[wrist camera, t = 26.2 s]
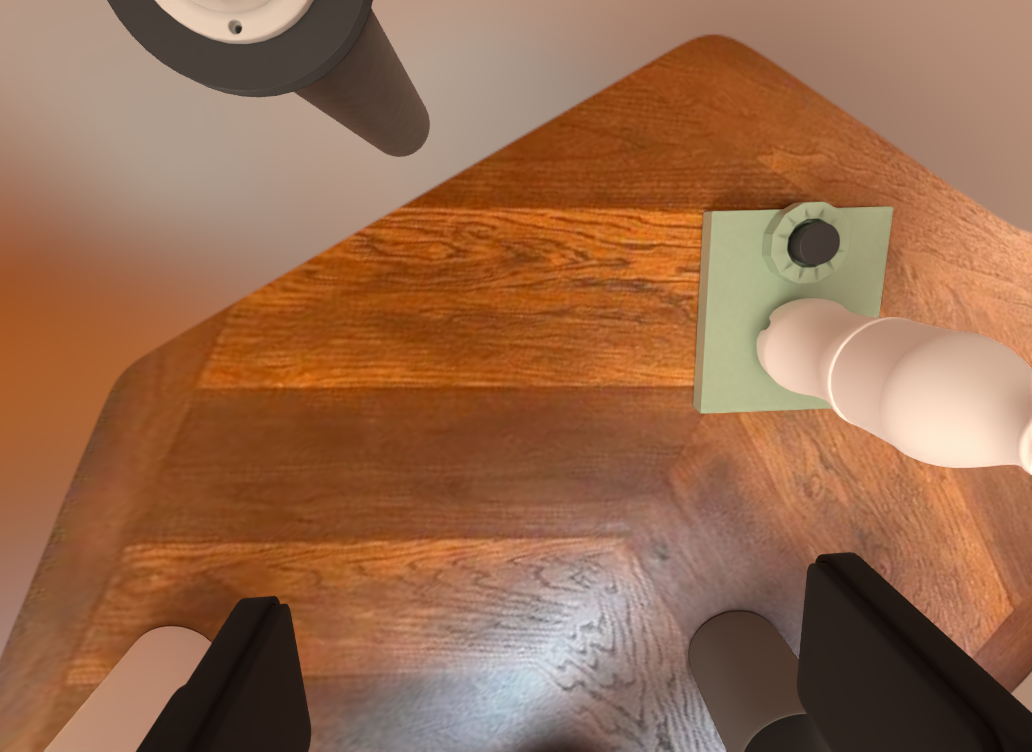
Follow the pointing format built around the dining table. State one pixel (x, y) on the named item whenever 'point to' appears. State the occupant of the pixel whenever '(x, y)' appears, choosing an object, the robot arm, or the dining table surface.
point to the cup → (133, 693)
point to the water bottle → (906, 382)
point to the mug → (751, 686)
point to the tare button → (814, 243)
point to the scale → (775, 294)
